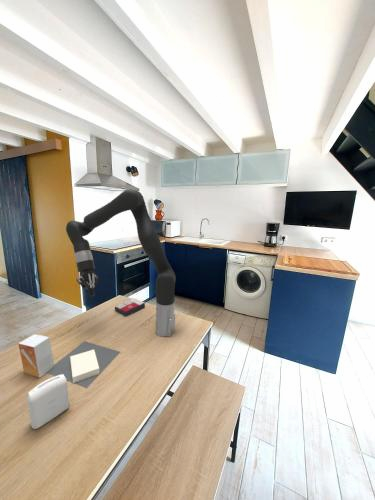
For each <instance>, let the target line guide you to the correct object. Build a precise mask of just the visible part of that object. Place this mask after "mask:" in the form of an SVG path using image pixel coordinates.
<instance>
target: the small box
mask: <svg viewBox="0 0 375 500" xmlns="http://www.w3.org/2000/svg"><path fill="white" fill-rule="evenodd" d="M17 345H18V349H19V353H20V354H19V355H20V358H21V363H22V368H23V373H24V374H27V375H29V376H32V377H36V378H40V379H41V377H43V376H44V375H45V374H47V373H46V372H48V371H49V370H50V369H52V368H53V367H54V364H55V362H54V357H53V350H52V344H51V341H50V336H45V335H42V334H41V335H40V334H37V333H36V334H35V333H34V334H32V335H30V336H29V337H27V338H25V339H24V340H22V341H19V342H18V344H17Z"/></svg>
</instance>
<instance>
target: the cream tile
mask: <svg viewBox="0 0 375 500" xmlns="http://www.w3.org/2000/svg"><path fill="white" fill-rule="evenodd" d="M70 360H71V369H72V378H73V383H72V384H74V383H75V382H78V381H81V380H83V379H86V378H89V377H92V376H94V375H97V374H99V365H98V362H97V358H96V355H95V351H94V350H90V351H87V352H84V353H80V354H77V355H74V356H70Z"/></svg>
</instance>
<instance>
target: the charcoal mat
mask: <svg viewBox="0 0 375 500" xmlns="http://www.w3.org/2000/svg"><path fill="white" fill-rule="evenodd" d="M90 350H94V351H95V355H96V358H97V362H98V365H99V374H97V375H94V376H92V377H89V378H86V379H83V380H81V381H78V382H75V383H73V378H72V369H71V360H70V356H74V355H77V354H80V353H84V352H87V351H90ZM120 353H121V351H119V350H116V349H113V348H110V347H106V346H102V345H99V344H95V343H93V342H89V341H86V340H84V341H83V342H81V343H80V344H79V345H77V346H76V347H75V348H74V349H72V350H71V351H70V352H68V353H67V354H66V355H65V356H63V357H62V358H61V359H59V360H58V361H57V362H56V363H54V367H53V368H52V369H50V370H49V371H48V372H46V373H45V374H48V375H50V376H53V377H55V376H58V375H62V374H64V376H65V378H66V379H67V382H69V383H71V384H75V385H77V386H79V387H83V388H85V389H88V387H89V386H90V385H91V384H93V382H94V381H95V380H96V379H97V378H98V377H99V376H100V375H101V374H102V373H103V372H104V370H106V368H108V367H109V365H110V364H111V363H112V362H113V361H114V360H115V359H116V357H118V356H119V354H120Z"/></svg>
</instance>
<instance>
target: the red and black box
mask: <svg viewBox="0 0 375 500" xmlns="http://www.w3.org/2000/svg"><path fill="white" fill-rule="evenodd" d="M145 307H146V305H145V302H143V301H141V300H139V299H137V298H134V297H132V298H130V299H128V300H126V301H123V302H121V303H119V304H117V305H115V306H114V311H115V312H116V313H118V314H120V315H121V316H123V317H126V318H127V317H128V316H131V315H132V314H134V313H137V312H139V311H141V310H143V309H145Z"/></svg>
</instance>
